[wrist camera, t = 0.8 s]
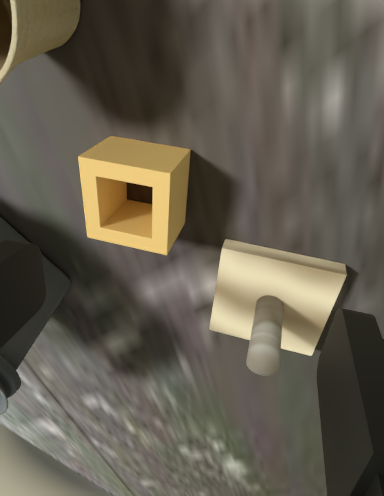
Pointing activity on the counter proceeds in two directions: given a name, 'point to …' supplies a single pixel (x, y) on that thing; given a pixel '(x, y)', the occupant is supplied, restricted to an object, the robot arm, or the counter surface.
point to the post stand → (273, 300)
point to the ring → (128, 211)
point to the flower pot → (34, 29)
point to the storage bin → (13, 352)
